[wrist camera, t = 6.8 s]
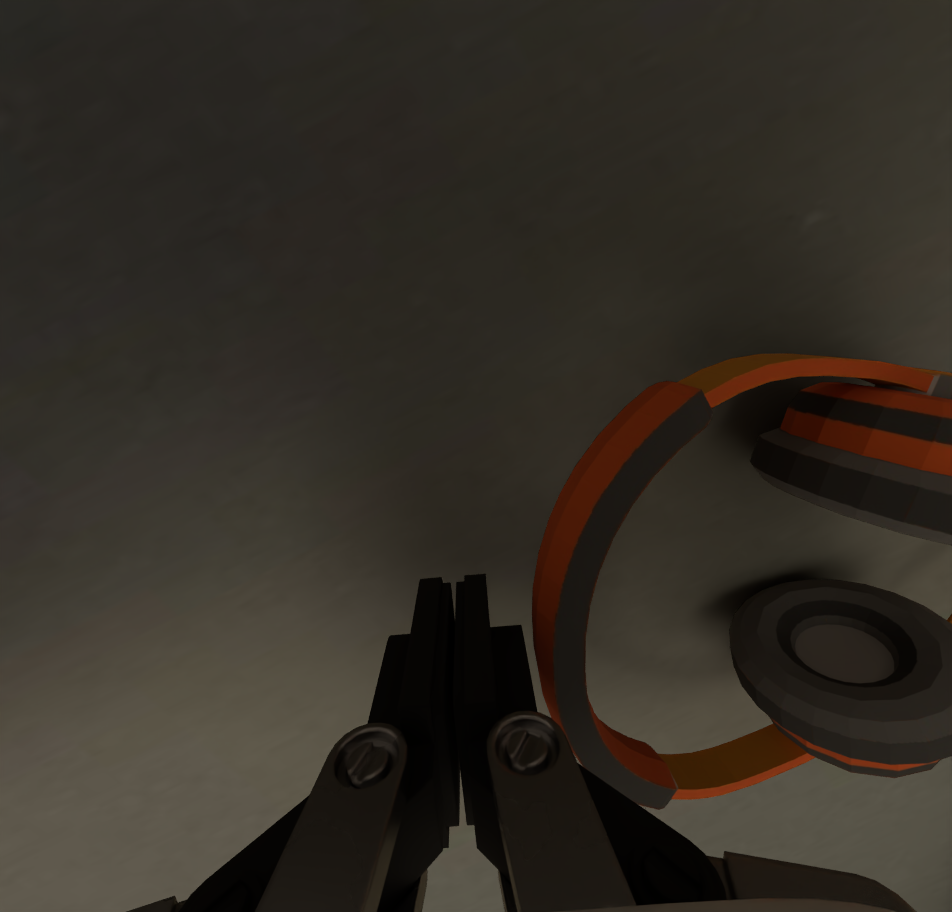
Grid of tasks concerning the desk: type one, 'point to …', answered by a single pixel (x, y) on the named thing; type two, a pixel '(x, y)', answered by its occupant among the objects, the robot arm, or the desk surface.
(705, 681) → the desk surface
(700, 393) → the headphones
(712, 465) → the desk surface
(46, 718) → the desk surface
